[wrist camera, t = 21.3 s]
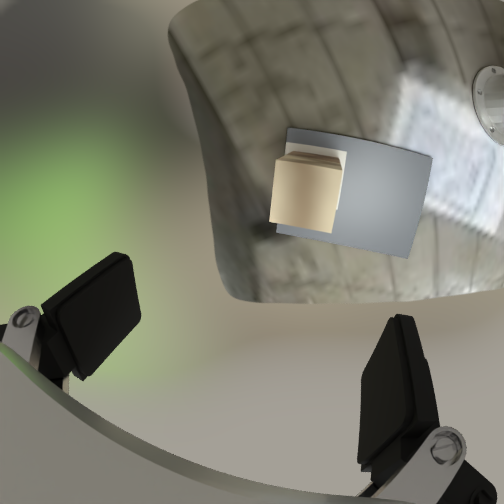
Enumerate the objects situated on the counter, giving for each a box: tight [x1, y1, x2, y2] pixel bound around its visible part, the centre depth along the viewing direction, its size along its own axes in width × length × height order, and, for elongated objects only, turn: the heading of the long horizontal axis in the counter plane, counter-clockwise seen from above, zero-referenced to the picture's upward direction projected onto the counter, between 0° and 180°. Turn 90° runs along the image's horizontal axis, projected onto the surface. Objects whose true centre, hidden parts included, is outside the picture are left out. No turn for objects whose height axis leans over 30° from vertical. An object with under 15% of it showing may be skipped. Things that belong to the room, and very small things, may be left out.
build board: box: [276, 128, 433, 259], centre depth 34 cm, size 20×15×1 cm
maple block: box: [269, 154, 343, 233], centre depth 27 cm, size 6×6×6 cm
